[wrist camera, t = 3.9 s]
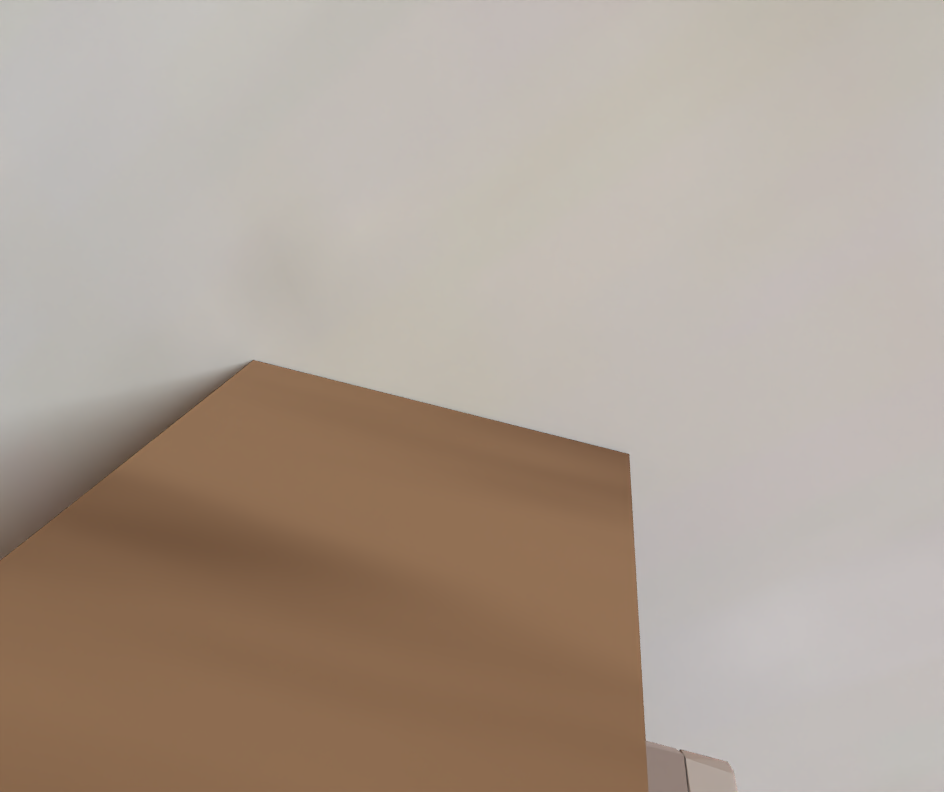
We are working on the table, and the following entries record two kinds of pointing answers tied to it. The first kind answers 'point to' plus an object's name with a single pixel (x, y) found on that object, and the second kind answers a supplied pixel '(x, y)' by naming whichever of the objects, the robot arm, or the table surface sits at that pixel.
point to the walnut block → (329, 607)
